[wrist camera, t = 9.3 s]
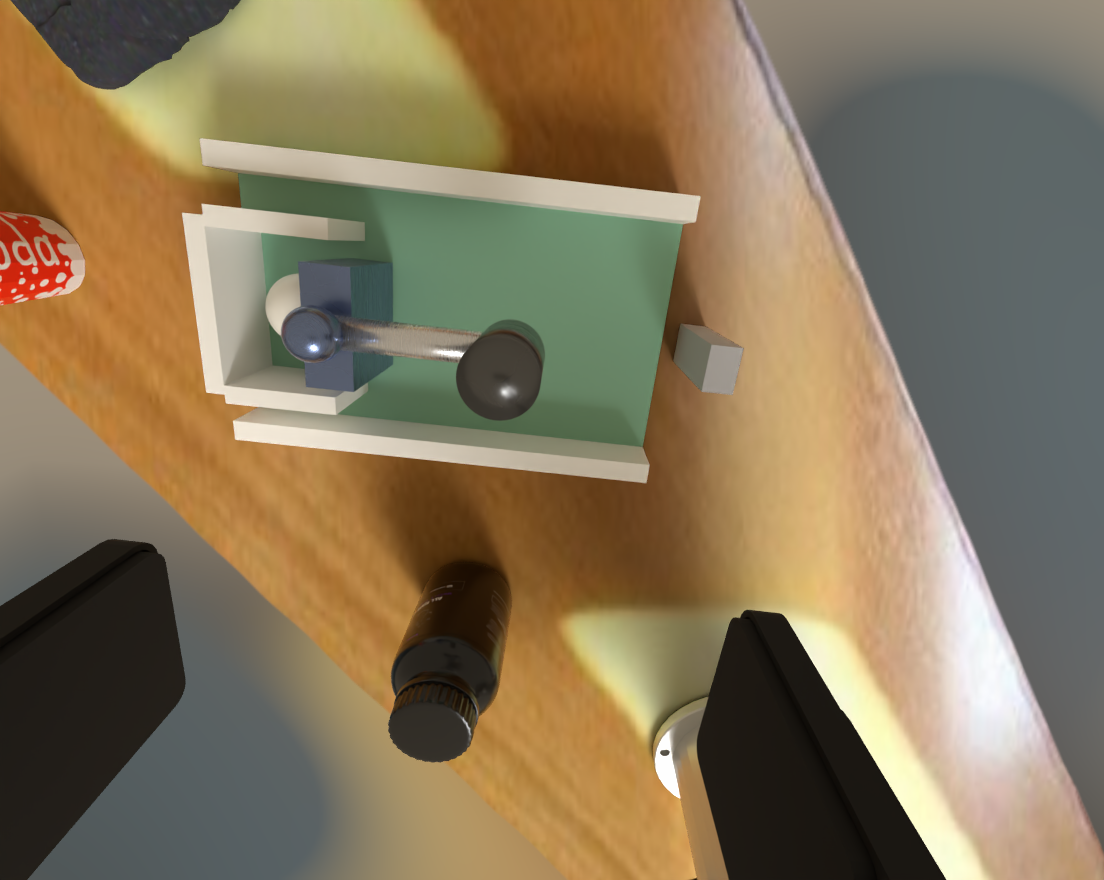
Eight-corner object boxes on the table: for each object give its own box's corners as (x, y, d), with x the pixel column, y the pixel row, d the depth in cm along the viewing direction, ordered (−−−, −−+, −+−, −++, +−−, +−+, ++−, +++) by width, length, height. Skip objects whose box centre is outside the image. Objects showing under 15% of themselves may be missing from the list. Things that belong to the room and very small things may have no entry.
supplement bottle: (432, 548, 39) (379, 673, 27) (521, 570, 39) (504, 701, 28) (417, 620, 41) (362, 762, 30) (501, 639, 41) (478, 786, 30)
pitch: (730, 208, 30) (779, 197, 23) (677, 461, 36) (704, 512, 29) (248, 152, 29) (152, 124, 23) (272, 417, 35) (201, 459, 28)
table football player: (554, 280, 30) (548, 303, 18) (544, 381, 32) (533, 457, 21) (349, 257, 30) (213, 266, 18) (352, 360, 32) (232, 426, 20)
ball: (268, 267, 30) (343, 273, 31) (274, 336, 31) (346, 339, 32) (255, 273, 26) (340, 280, 28) (262, 351, 28) (343, 354, 29)
